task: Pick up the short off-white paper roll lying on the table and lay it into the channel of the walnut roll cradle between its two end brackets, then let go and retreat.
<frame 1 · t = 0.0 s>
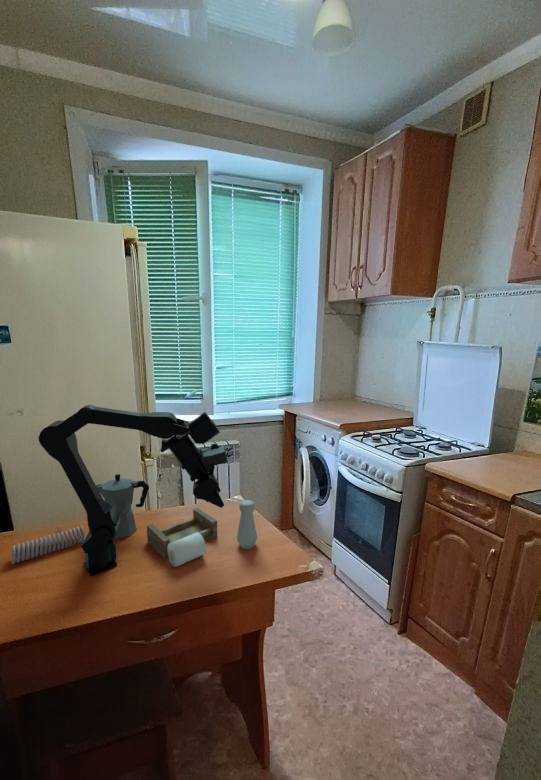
hand: (220, 498, 99), 15 cm above the table, fingers open, 9 cm apart
roll: (186, 559, 97), on the table
coffeepot: (124, 531, 111), on the table
cradle: (182, 539, 106), on the table
coil: (51, 552, 101), on the table
salt shaker: (247, 546, 103), on the table
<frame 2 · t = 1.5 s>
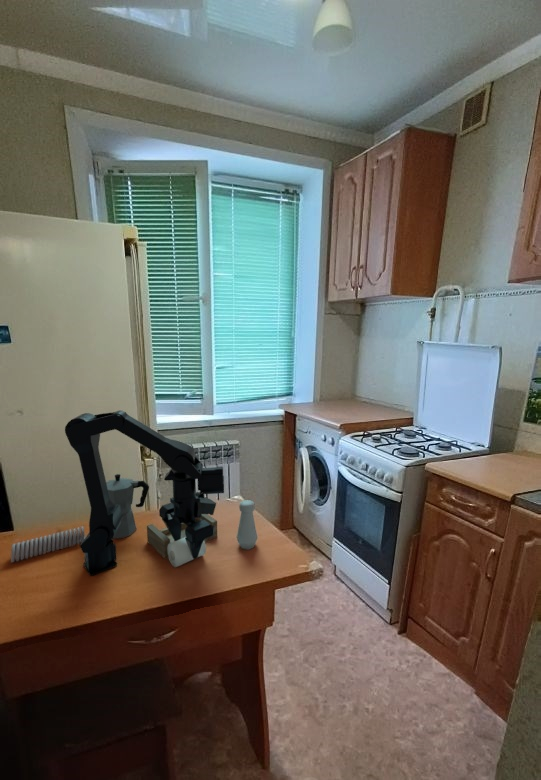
hand: (186, 550, 96), 3 cm above the table, fingers open, 9 cm apart
nothing on the table moved.
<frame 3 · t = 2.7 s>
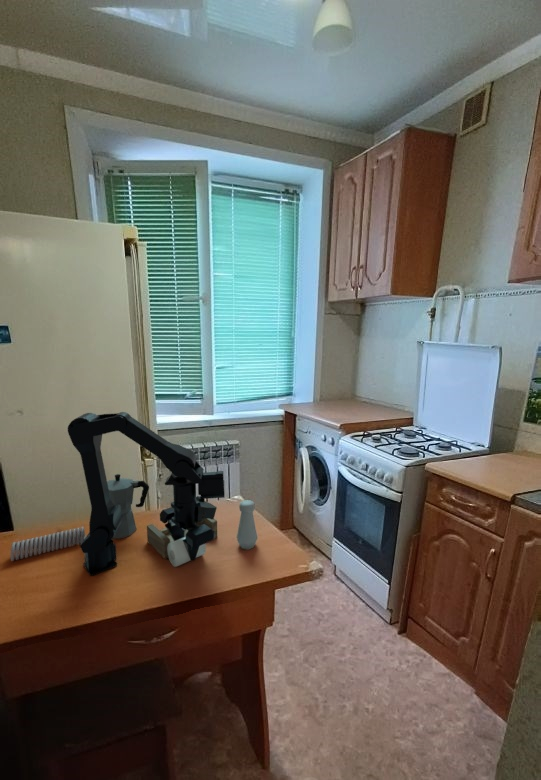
hand: (186, 554, 97), 1 cm above the table, fingers closed on roll, 6 cm apart
roll: (186, 559, 97), on the table, touching gripper
everything else where it was.
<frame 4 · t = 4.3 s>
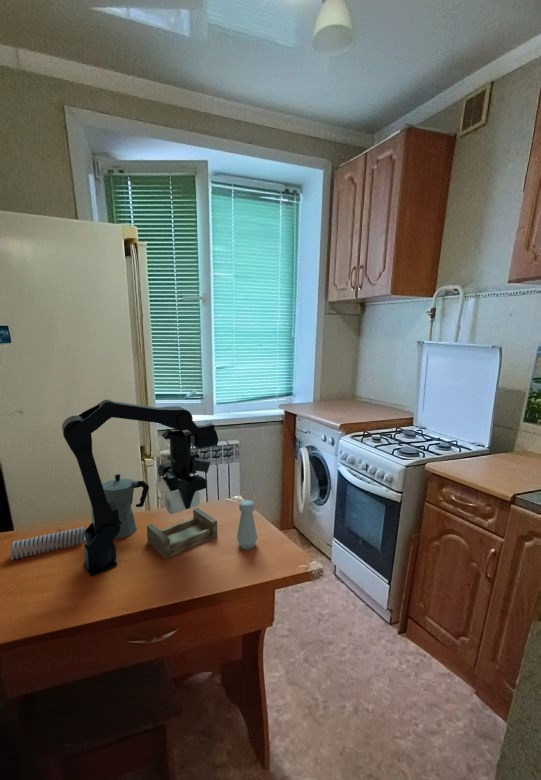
hand: (182, 504, 104), 11 cm above the table, fingers closed on roll, 6 cm apart
roll: (182, 509, 104), point 10 cm above the table, touching gripper
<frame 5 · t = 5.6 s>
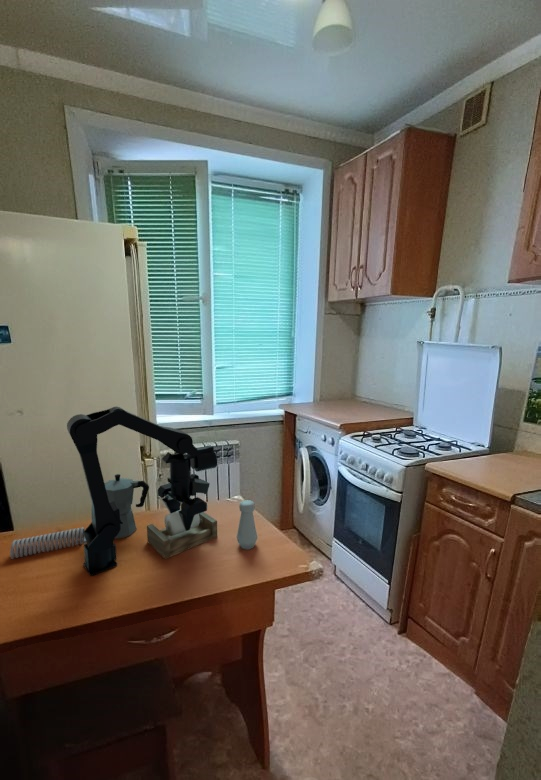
hand: (182, 526, 106), 4 cm above the table, fingers closed on roll, 6 cm apart
roll: (182, 530, 106), point 3 cm above the table, touching gripper
when the fingers open (4 cm above the table, at t = 6.5 s): roll drops 1 cm, resting on cradle.
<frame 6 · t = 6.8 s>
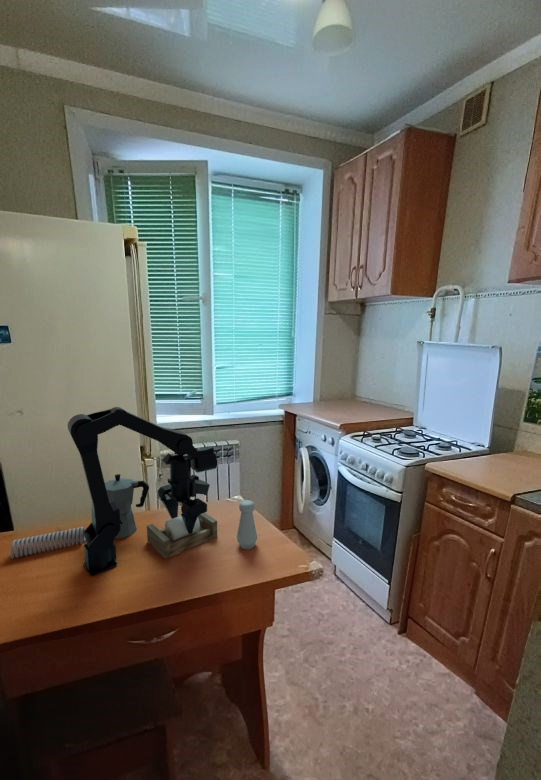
hand: (182, 527, 106), 4 cm above the table, fingers open, 9 cm apart
roll: (182, 535, 106), point 1 cm above the table, touching cradle
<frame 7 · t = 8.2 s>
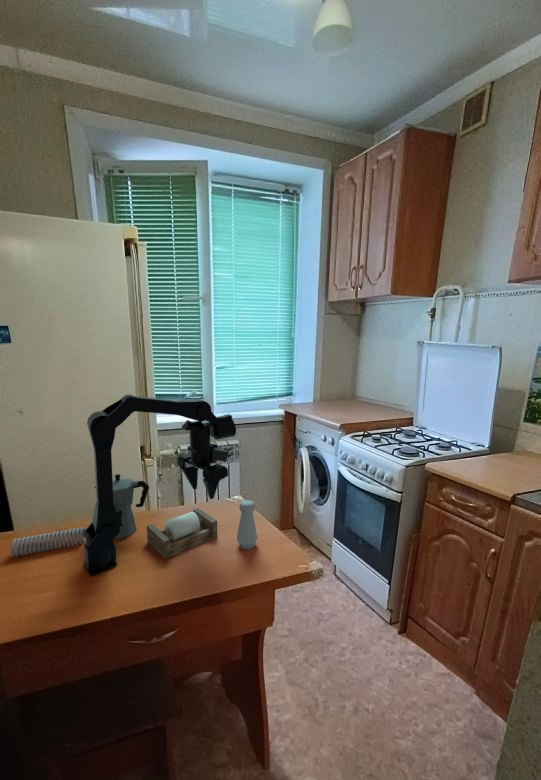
hand: (203, 493, 107), 13 cm above the table, fingers open, 9 cm apart
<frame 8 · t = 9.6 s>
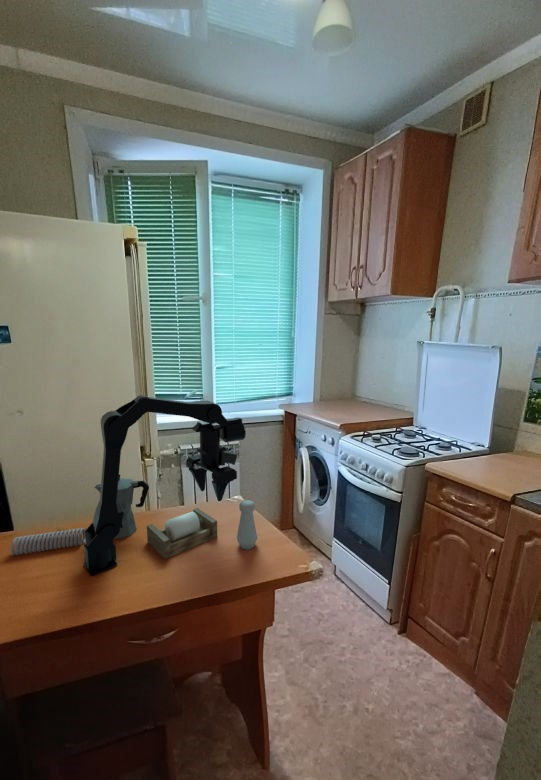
hand: (211, 495, 108), 12 cm above the table, fingers open, 9 cm apart
at the end: roll inside the target area on the cradle (0.0 cm from its centre), point 1.0 cm above the cradle's base; roll touching cradle; the gripper is holding nothing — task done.
